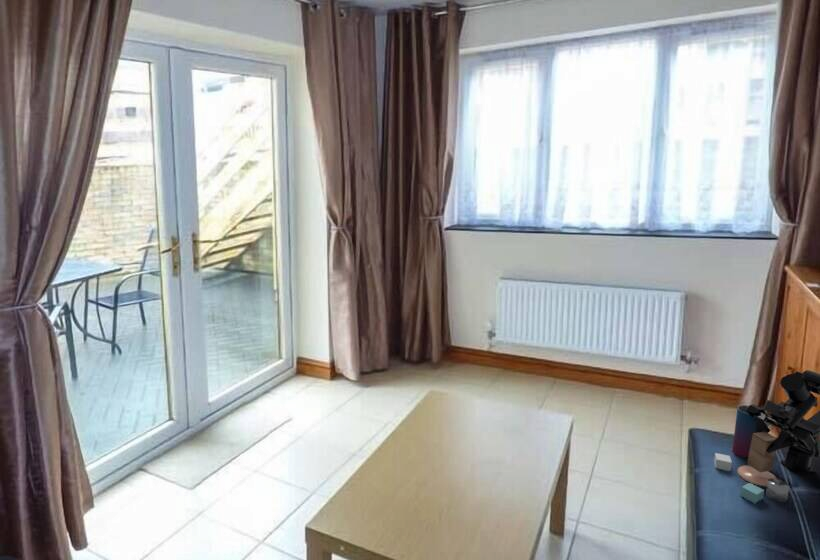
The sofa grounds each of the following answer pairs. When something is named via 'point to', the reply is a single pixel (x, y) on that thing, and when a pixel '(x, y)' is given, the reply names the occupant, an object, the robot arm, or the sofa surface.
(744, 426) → the cup
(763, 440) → the walnut block
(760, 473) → the coaster
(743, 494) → the teal block
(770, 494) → the metal bowl
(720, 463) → the grey block
